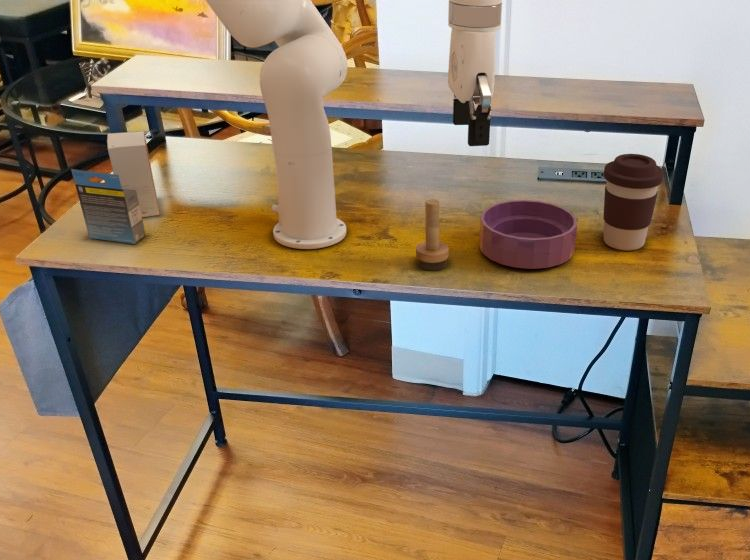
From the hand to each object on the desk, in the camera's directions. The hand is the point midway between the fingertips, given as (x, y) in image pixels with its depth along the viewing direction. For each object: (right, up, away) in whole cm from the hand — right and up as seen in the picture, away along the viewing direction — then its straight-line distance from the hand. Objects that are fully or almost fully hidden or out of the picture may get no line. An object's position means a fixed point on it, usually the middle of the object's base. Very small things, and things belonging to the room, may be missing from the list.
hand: (470, 134), depth 128 cm
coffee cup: (+27, -14, +19) cm, 36 cm away
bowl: (+9, -16, +15) cm, 24 cm away
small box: (-61, -7, +25) cm, 66 cm away
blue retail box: (-61, -13, +15) cm, 64 cm away
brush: (-6, -19, +10) cm, 22 cm away
